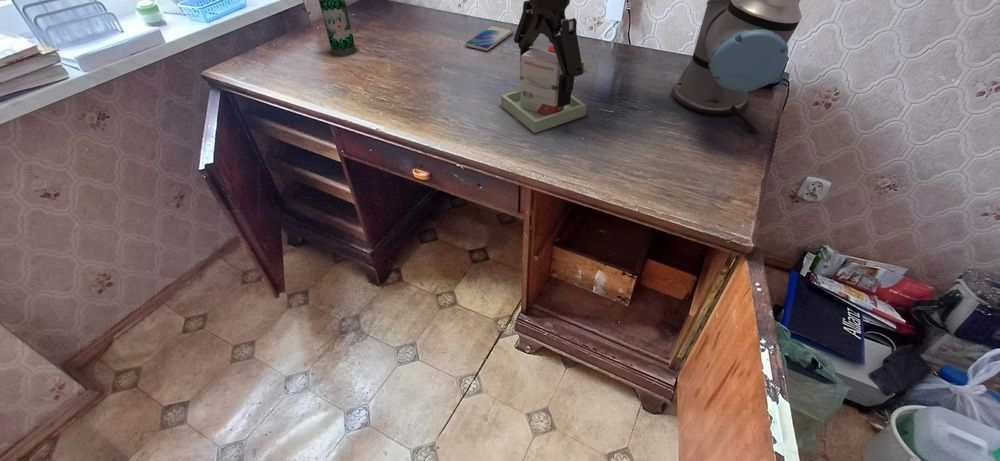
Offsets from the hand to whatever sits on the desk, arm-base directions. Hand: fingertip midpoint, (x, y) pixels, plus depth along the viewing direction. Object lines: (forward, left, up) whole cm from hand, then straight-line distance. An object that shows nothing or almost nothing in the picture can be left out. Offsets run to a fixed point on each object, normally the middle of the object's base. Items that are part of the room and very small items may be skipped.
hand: (544, 91), depth 98 cm
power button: (+15, -14, -1) cm, 21 cm away
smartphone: (+40, -10, -5) cm, 42 cm away
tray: (0, 0, -4) cm, 5 cm away
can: (+54, +27, -5) cm, 61 cm away
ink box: (0, 0, -4) cm, 4 cm away
